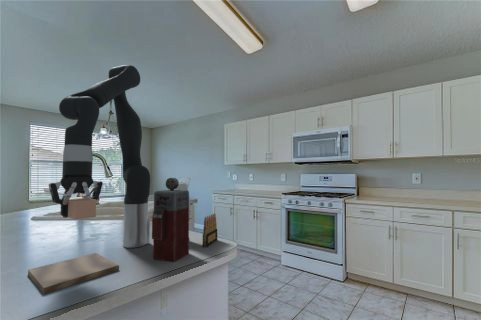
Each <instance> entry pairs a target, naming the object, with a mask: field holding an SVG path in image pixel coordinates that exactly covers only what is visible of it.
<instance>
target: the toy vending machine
mask: <svg viewBox="0 0 481 320" xmlns="http://www.w3.org/2000/svg"><path fill="white" fill-rule="evenodd" d="M178 185H179V180H178V178H176V177H168V178H167V179H166V180H165V187H166V189H164V190H157V191H154V194H153V212H152V216H151V217H152V218H151V219H152V220H151V239H152V240H153V244H152V245H153V248H152V252H153V253H152V258H153V260H158V261H164V262H172V263H175V262H177V261H179V260H180V259H182V258H184V257H185V256H187V255H189V254H190V253H189V251H190V249H189V247H190V245H189V243H190V242H189V239H190V236H189V235H190V234H189V233H190V229H189V228H190V218H189V197H190V192H189V189H188V190H175V189H176V188H177V187H178Z"/></svg>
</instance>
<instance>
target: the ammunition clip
mask: <svg viewBox="0 0 481 320" xmlns="http://www.w3.org/2000/svg"><path fill="white" fill-rule="evenodd" d="M217 227H218V225H217V215H216V213H215V212H214V213H212V214H210V215H207V216H204V220H203V229H202V230H203V233H202V248H206V249H207V248H208V247H210V246H211V245H212V244H214V243H216V242H217V241H218V228H217Z"/></svg>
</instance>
